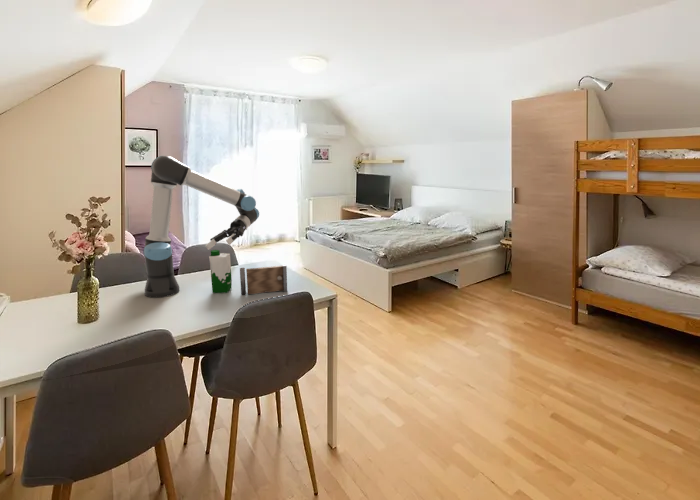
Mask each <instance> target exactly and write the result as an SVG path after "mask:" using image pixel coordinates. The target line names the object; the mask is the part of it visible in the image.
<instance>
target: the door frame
mask: <svg viewBox="0 0 700 500" xmlns="http://www.w3.org/2000/svg"><path fill="white" fill-rule="evenodd" d="M281 266H283V290H282V291H283V293H288V272H287V271H288V270H287V269H288V268H287V265H286V264H284V265H281ZM239 278H240V279H239V280H240V295H241V296H246V295H247V288H246V287H247V286H246V285H247V283H246V272H245V267H240V268H239Z"/></svg>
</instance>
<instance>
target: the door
mask: <svg viewBox="0 0 700 500" xmlns="http://www.w3.org/2000/svg"><path fill="white" fill-rule="evenodd" d="M246 285H247V286H246V287H247V288H246V291H247V295H255V294H263V293H272V292H281V291H283V266H282V265H275V266H264V267H263V266H262V267H252V268H246Z"/></svg>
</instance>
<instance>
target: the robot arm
mask: <svg viewBox="0 0 700 500" xmlns="http://www.w3.org/2000/svg"><path fill="white" fill-rule="evenodd" d="M150 168H151V174H150V175H151V176H150V177H151V178H150V183H151V184H152V186H153V190H152V191H153V192H152V193H153V194H152V200H151V201H152V203H151V214H150V224H149V233H148V235H147V236H145V238H144V239H145V240H144V241H145V242H144V247H143V250H142V251H143V257H144V261H145V269H146V279H147V280H146V283H145V286H144V296H145V297H148V298H164V297H170V296H173V295H176V294H178V293H179V292H180V285H179V283H178V280H177V279H176V276H175V273H174V269H175V268H174V262H173V261H174V260H173V250H172V246H171V245H172V239H171V238H170V237H169V232H170V222H171V212H172V203H173V192H174V189H175V188H176V187H177V186H178V185H179V186H181V187H182V186H187V187H189V188H192V189H194V190H197V191H199V192H201V193H204V194H205V195H209V196H211V197H214V198H216V199H218V200H221V202H225V203H228V204H230V205H232V206H234V207H235V208H236V210H237V212H238V213H239V215H238V216H237V217H236V218H235V219H234V220H232V222H230V225H229V228H227V229H223V230H222V231H221V232H219V233H217V235H214V236H213V237H212V238H210V241H209V242H208V243H207V244H205V248H206V249H207V250H208V251H211V249H212V248H213V247H214V246H215V245H218V244H217V243H219V242H221V241H222V240H224V239H226V240H225V241H226V243H227V245H228V246H230V245H232V244H233V243H234V241H236V240H237V239H238V238H240V237H243V236H244V233H245V231H246V230H248V228H249V227H250V226H252V224H254V222H256V221H257V220H258V219H259V216H260V212H259V209H257V207H256V204H257V201H256V199H255V198H254V197H253V196H251V195H250V194H249V195H248V194H246V193H245V191H244V189H242V188H238V189H235V188H232V187H230V186H228V185H226V184H224V183H221V182H219V181H217V180H215V179H212V178H210V177H208V176H205V175H203V174H201V173H199V172H196V171H195V170H192V169H191V167H190V166H188V165H186V164H184V163H182V162H181V161H178V160H177V159H176V158H174V157H173V156H170V155H160V156H158V157H156V158H155V159H154V160H152V163H151V166H150Z"/></svg>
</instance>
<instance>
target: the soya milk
mask: <svg viewBox="0 0 700 500" xmlns="http://www.w3.org/2000/svg"><path fill="white" fill-rule="evenodd" d="M208 260H209V267H210V281H211V292H212V293H213V294H214V293H215V294H228V293H229V292H230V291H231V289H232V281H233V280H232V267H231V266H232V265H231V264H232V263H231V253H226V252H220V250H219V249H212V250H210V255H209V256H208Z"/></svg>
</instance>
